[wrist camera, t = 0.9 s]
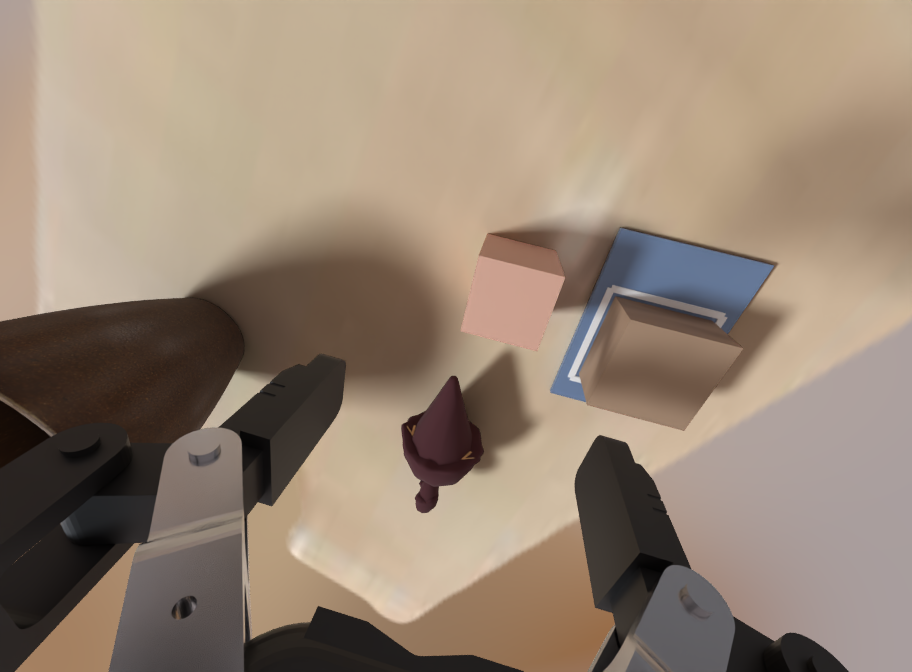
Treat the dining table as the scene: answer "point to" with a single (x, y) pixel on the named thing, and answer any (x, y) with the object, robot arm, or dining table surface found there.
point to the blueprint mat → (661, 291)
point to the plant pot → (114, 370)
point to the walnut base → (655, 363)
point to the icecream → (441, 444)
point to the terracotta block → (513, 292)
